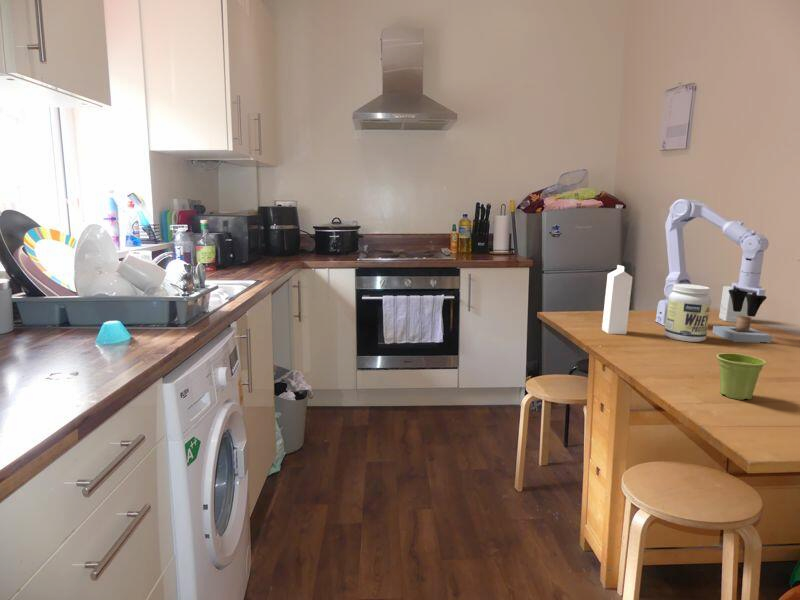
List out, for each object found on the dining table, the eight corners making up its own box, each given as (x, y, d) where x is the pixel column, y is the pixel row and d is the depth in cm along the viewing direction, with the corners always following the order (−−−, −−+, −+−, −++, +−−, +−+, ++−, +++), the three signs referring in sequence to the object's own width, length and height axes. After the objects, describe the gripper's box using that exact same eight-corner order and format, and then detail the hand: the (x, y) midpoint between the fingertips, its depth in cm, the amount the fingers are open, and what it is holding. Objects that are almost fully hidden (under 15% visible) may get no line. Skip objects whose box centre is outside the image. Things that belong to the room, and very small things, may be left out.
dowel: (738, 339, 183) (741, 318, 182) (731, 336, 187) (734, 315, 186) (750, 339, 183) (754, 318, 182) (743, 336, 187) (746, 316, 186)
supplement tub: (680, 343, 175) (687, 289, 172) (655, 333, 187) (661, 283, 184) (715, 342, 177) (722, 289, 174) (688, 333, 189) (694, 283, 186)
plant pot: (710, 397, 125) (715, 359, 124) (712, 386, 133) (717, 350, 131) (760, 406, 120) (766, 367, 119) (759, 394, 128) (765, 357, 127)
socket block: (733, 341, 179) (734, 334, 179) (712, 333, 191) (713, 325, 191) (770, 343, 179) (771, 335, 179) (747, 334, 191) (748, 327, 191)
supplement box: (746, 323, 211) (751, 289, 209) (725, 321, 212) (729, 288, 210) (739, 319, 218) (744, 286, 216) (718, 317, 219) (722, 285, 217)
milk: (607, 333, 184) (614, 266, 180) (601, 329, 190) (607, 264, 186) (626, 334, 184) (633, 267, 180) (619, 330, 190) (626, 264, 186)
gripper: (777, 276, 174) (770, 319, 177) (748, 270, 189) (742, 309, 191) (755, 275, 174) (748, 318, 177) (727, 269, 189) (721, 309, 191)
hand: (743, 313), depth 184 cm, fingers open, 7 cm apart
